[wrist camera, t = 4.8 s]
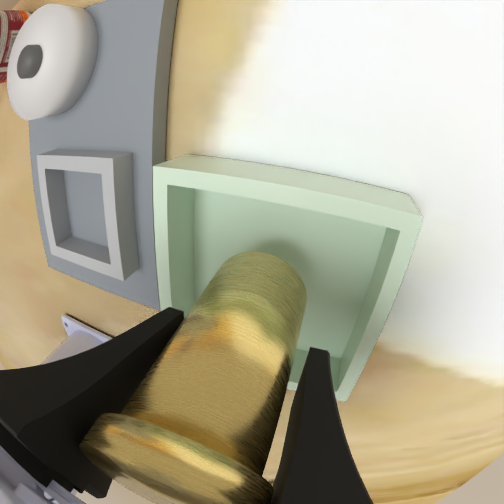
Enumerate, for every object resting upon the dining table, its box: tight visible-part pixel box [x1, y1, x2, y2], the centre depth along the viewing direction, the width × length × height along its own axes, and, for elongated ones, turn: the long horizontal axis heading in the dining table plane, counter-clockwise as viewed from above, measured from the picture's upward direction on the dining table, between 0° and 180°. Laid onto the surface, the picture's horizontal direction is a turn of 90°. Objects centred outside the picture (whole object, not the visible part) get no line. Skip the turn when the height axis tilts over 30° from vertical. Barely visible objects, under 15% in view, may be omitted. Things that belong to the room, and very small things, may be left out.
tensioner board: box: [7, 0, 178, 311], centre depth 14 cm, size 18×11×4 cm, turn 174°
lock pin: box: [79, 251, 307, 504], centre depth 9 cm, size 5×5×9 cm
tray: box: [153, 154, 423, 402], centre depth 14 cm, size 10×10×3 cm
